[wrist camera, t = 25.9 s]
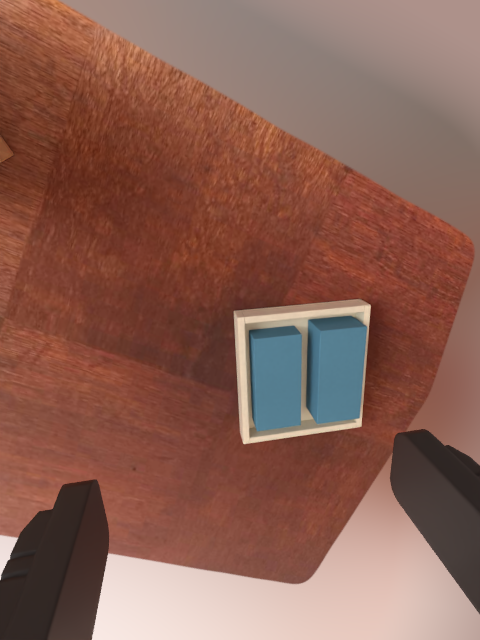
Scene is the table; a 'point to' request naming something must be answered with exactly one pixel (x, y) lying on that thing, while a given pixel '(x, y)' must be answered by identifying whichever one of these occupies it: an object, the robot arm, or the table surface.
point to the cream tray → (299, 319)
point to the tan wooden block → (4, 150)
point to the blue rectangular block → (335, 368)
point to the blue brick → (275, 377)
